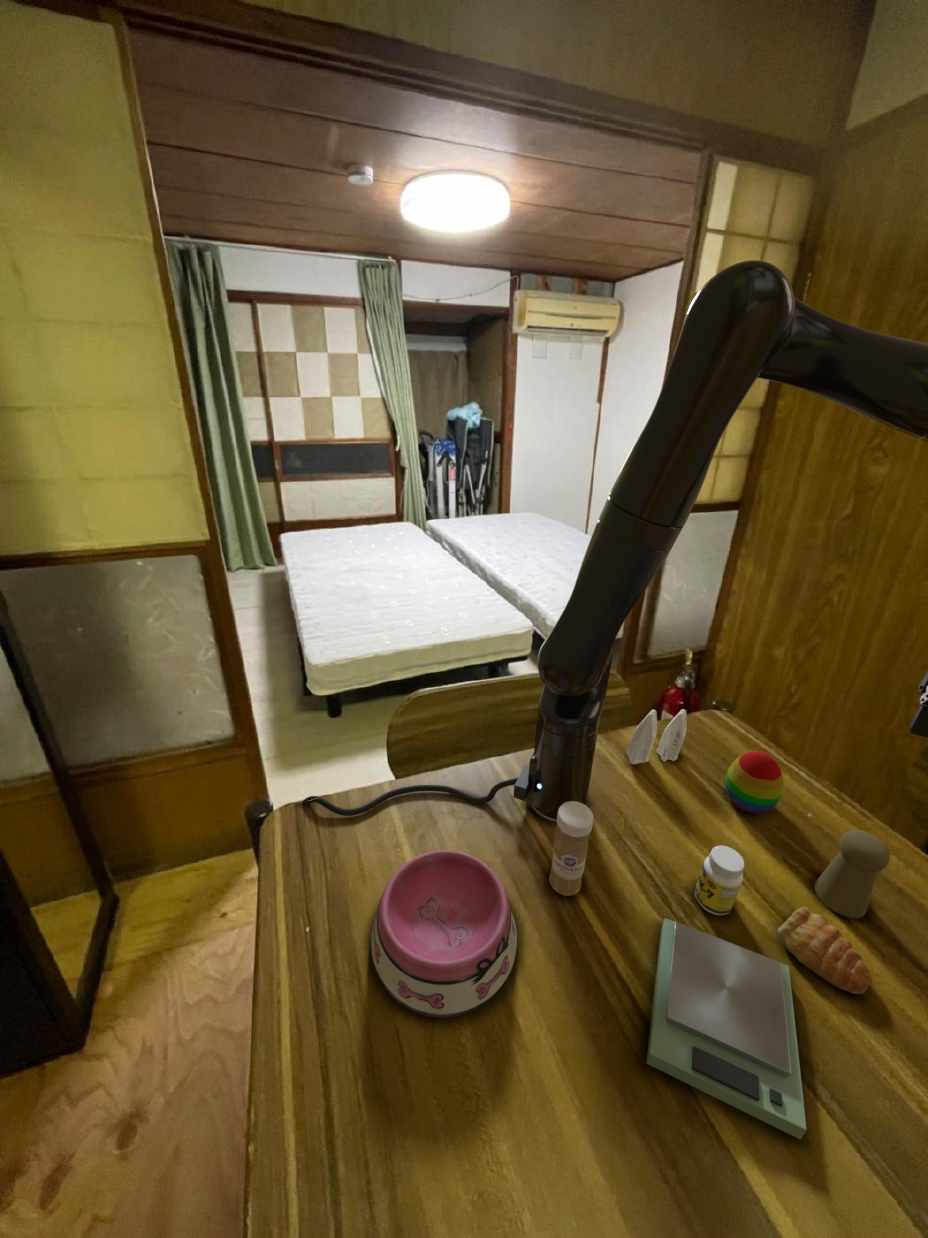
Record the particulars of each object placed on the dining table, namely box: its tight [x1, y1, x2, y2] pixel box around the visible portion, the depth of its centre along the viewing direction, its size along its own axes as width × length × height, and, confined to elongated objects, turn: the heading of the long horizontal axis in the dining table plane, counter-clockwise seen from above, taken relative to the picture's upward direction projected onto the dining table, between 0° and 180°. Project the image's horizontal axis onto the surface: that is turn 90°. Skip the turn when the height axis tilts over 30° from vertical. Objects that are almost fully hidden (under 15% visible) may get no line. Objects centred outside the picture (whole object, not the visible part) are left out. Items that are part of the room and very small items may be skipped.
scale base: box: [646, 917, 808, 1140], centre depth 57 cm, size 14×16×2 cm
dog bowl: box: [369, 849, 518, 1019], centre depth 64 cm, size 18×19×7 cm
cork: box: [813, 829, 891, 919], centre depth 68 cm, size 6×6×11 cm
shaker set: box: [626, 708, 687, 765], centre depth 93 cm, size 12×4×11 cm, turn 107°
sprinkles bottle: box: [548, 801, 594, 897], centre depth 69 cm, size 5×5×13 cm
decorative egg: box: [724, 750, 784, 815], centre depth 84 cm, size 8×8×10 cm
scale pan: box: [666, 921, 791, 1077], centre depth 57 cm, size 12×12×1 cm
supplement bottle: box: [694, 845, 745, 916], centre depth 68 cm, size 5×5×8 cm
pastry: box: [777, 906, 874, 995], centre depth 62 cm, size 9×7×4 cm
